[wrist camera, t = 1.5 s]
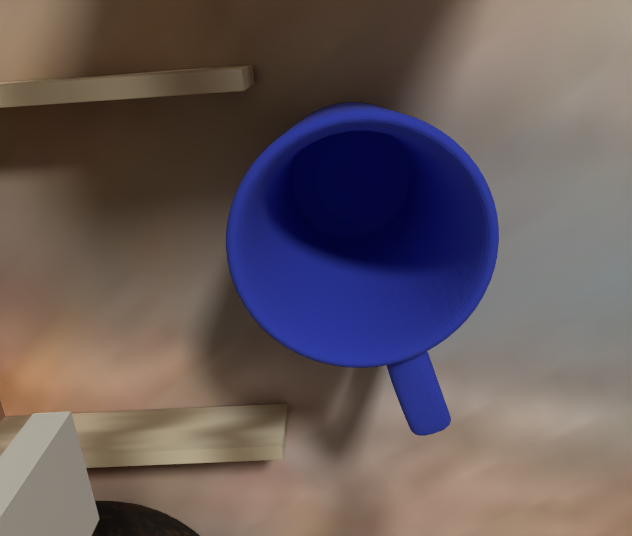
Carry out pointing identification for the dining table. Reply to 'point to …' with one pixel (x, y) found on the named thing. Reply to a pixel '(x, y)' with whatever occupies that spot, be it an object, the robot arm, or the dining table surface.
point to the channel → (164, 424)
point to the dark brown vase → (136, 521)
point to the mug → (365, 245)
